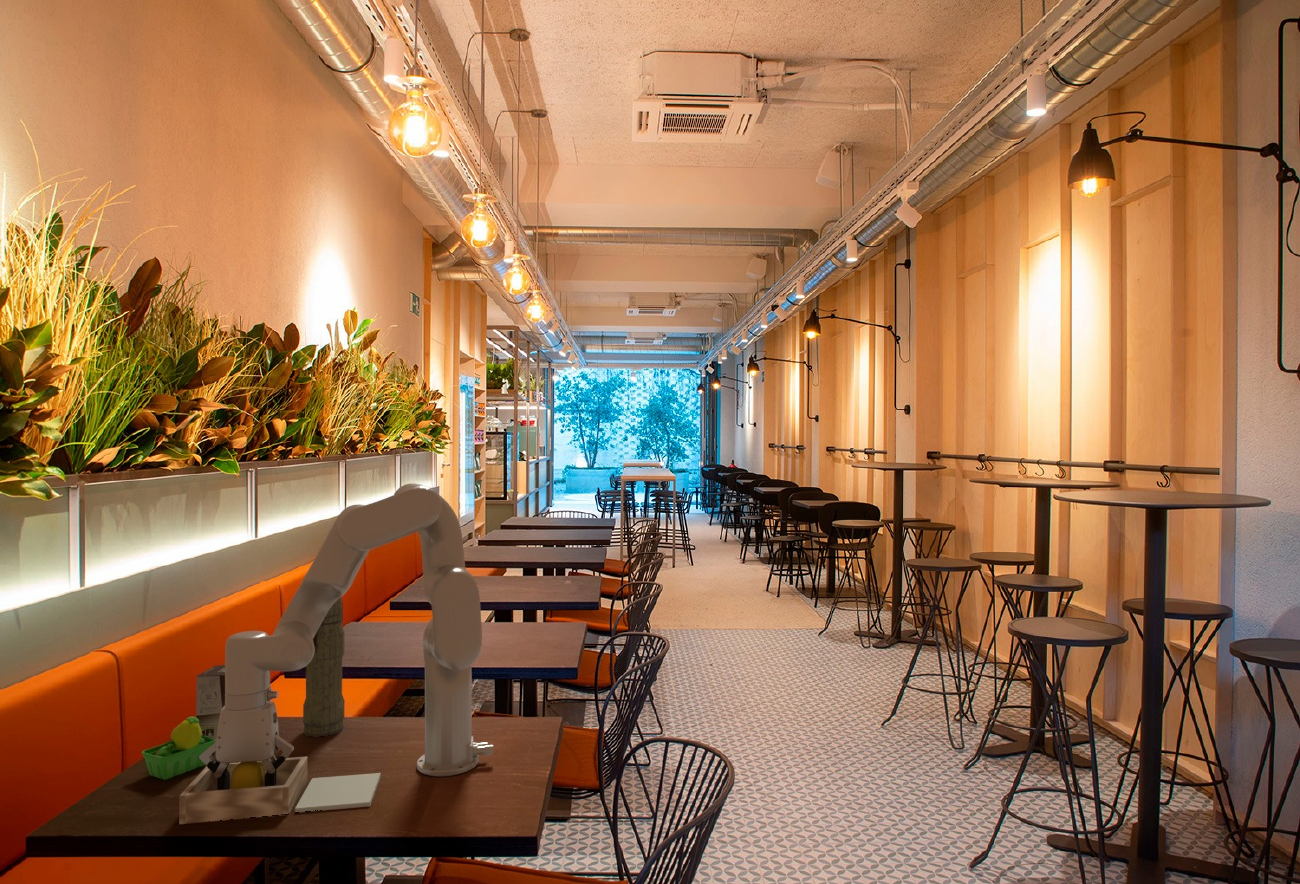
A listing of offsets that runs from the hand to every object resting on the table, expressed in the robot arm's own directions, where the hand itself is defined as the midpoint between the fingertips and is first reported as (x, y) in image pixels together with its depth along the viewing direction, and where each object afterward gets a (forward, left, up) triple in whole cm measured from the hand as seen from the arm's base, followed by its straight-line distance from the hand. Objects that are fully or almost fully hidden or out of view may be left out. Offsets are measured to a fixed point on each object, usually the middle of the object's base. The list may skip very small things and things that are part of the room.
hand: (247, 792), depth 143 cm
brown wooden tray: (0, 0, -2) cm, 2 cm away
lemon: (0, 0, -2) cm, 2 cm away
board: (-17, 0, -2) cm, 17 cm away
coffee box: (+16, -34, -2) cm, 38 cm away
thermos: (-6, -36, -2) cm, 37 cm away
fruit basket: (+18, -18, -2) cm, 26 cm away
